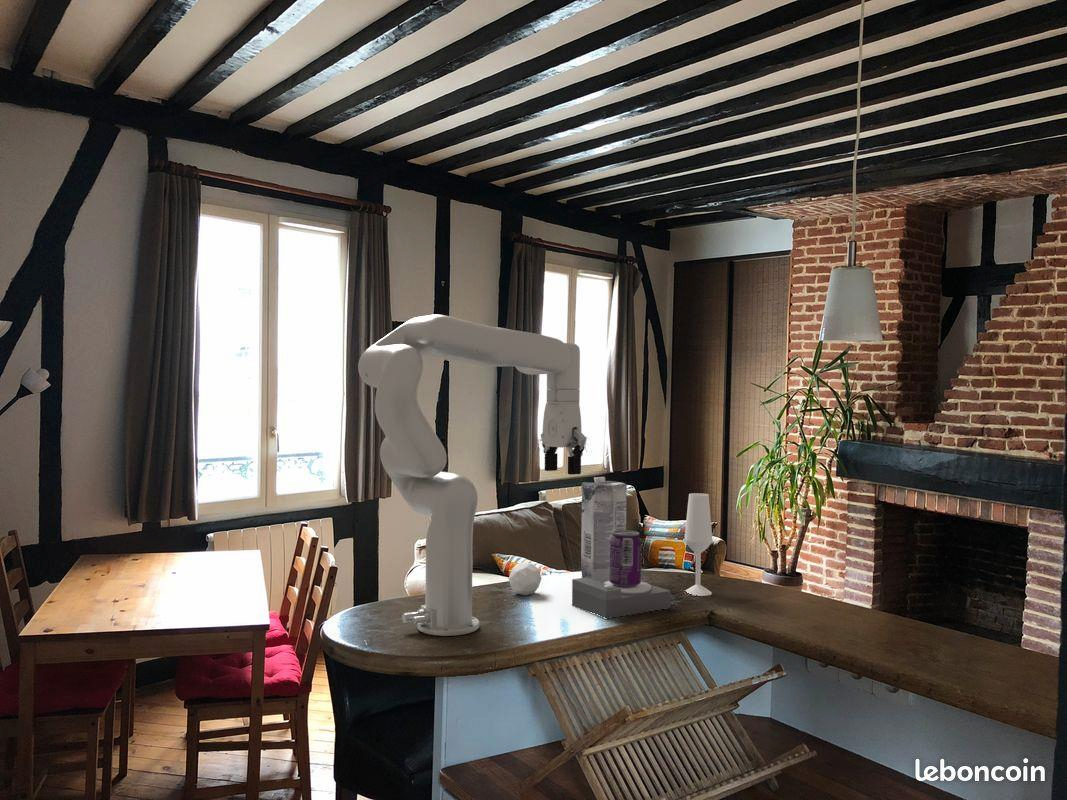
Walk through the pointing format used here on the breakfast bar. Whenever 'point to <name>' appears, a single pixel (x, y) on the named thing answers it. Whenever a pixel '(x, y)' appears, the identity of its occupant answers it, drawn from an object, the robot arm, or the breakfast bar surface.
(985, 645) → the breakfast bar surface
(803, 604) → the breakfast bar surface
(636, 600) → the grey display pedestal
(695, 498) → the champagne flute
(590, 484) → the juice carton
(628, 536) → the beverage can
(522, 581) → the geometric ball
